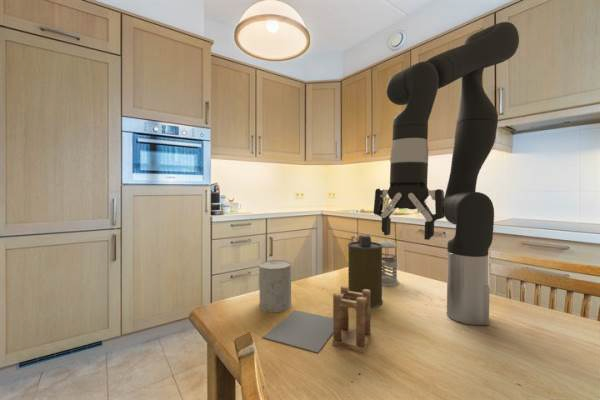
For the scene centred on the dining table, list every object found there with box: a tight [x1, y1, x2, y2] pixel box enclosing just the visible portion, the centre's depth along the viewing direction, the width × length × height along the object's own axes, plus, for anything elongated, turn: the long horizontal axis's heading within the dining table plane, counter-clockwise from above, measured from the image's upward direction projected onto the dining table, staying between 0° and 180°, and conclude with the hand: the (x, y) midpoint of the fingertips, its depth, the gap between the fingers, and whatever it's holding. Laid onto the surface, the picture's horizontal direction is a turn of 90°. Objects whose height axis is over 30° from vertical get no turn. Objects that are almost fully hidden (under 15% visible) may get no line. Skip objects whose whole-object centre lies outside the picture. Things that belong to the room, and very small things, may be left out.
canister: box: [347, 234, 384, 308], centre depth 85 cm, size 11×10×20 cm
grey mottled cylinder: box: [258, 259, 293, 313], centre depth 82 cm, size 10×10×12 cm
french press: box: [376, 235, 400, 287], centre depth 102 cm, size 10×12×25 cm
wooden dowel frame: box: [331, 285, 372, 353], centre depth 63 cm, size 7×7×11 cm
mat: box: [262, 309, 333, 354], centre depth 68 cm, size 14×16×1 cm
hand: (406, 236), depth 60 cm, fingers open, 8 cm apart
